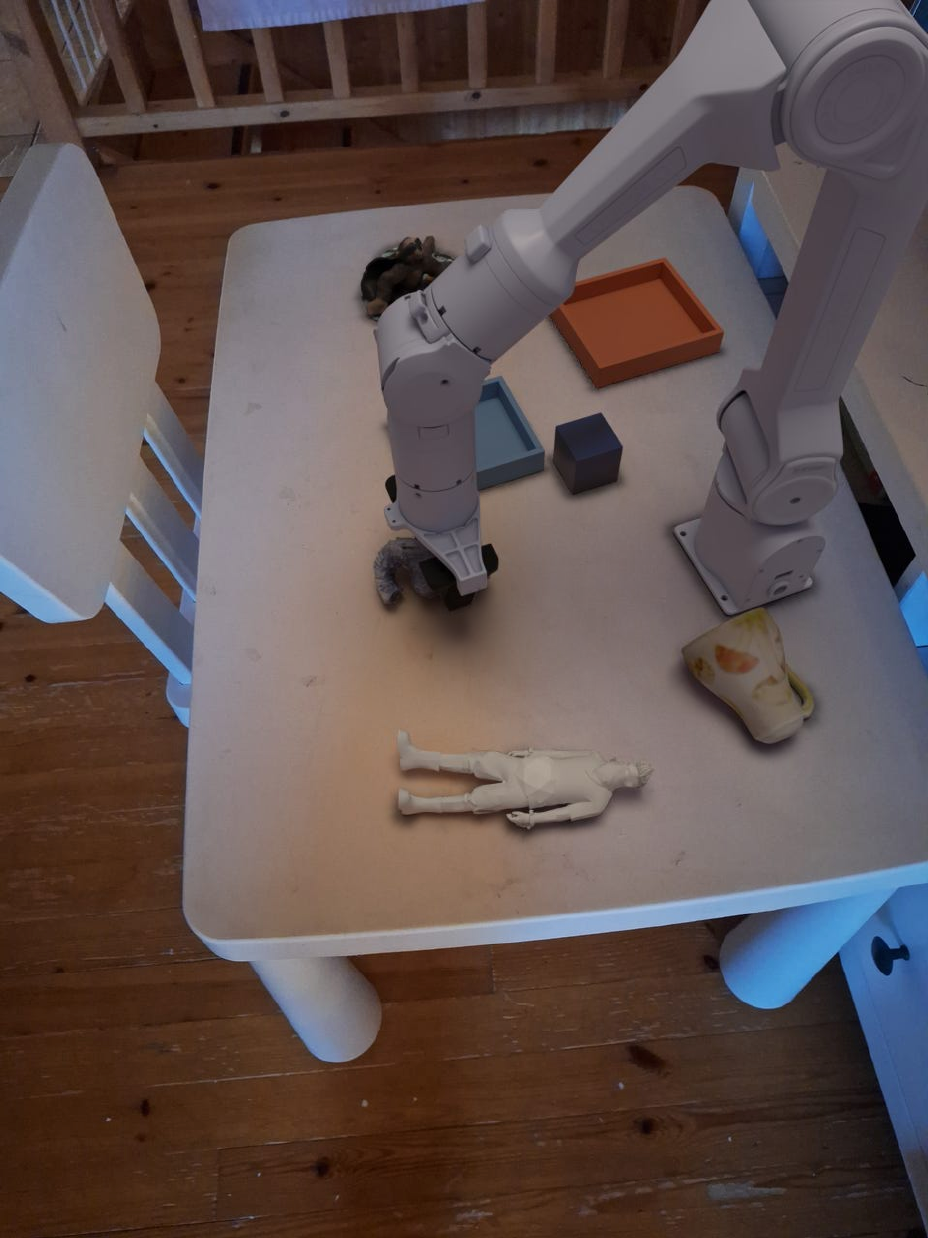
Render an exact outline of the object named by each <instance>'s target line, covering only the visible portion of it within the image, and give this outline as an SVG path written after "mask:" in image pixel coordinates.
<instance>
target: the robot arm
mask: <svg viewBox="0 0 928 1238" xmlns="http://www.w3.org/2000/svg"><path fill="white" fill-rule="evenodd" d="M784 143H786V144H787V146H788V147H789V149H790V150H791V151H792V152H793V154H795V155H796V156H797V157H798V158H799V159H801V160H802V161H805V162H807V163H809V164H811V165H813V166H815V167H819V168H822V169H826V170H825V173H824V176H823V179H822V181H821V185H820V187H819V191H818V194H817V197H816V200H815V203H814V206H813V209H812V212H811V216H810V219H809V221H808V224H807V227H806V230H805V234H804V237H803V239H802V242H801V246H800V248H799V252H798V255H797V258H796V261H795V263H794V267H793V269H792V273H791V276H790V278H789V281H788V285H787V288H786V291H785V294H784V296H783V300H782V303H781V306H780V309H779V311H778V315H777V318H776V320H775V324H774V327H773V330H772V333H771V336H770V339H769V342H768V345H767V347H766V351H765V354H764V357H763V359H762V361H758V362H756V363H753V364H750V365H747V366H745V367H743V368H742V370H741V372H740V373H741V374H740V377H739V379H738V382H737V384H736V385H735V386H734V388H733V389H732V391H730V392H729V394H727V396H726V397H725V398H724V399H723V400H722V402H721V403H720V404H719V407H718V409H717V412H716V419H715V420H716V426H717V428H718V430H719V431H720V433H721V434H722V436H723V438H724V441H723V442H724V443H723V446H722V448H721V451H722V455H721V457H720V459H719V460H718V463H717V466H716V469H715V473H714V476H713V478H712V482H711V485H710V489H709V491H708V495H707V498H706V501H705V503H704V504H705V505H704V508H703V511H702V514H701V517H698V518H696V519H692V520H689V521H686V522H683V523H680V524H677V525H675V527H674V529H673V533H674V535H675V538H676V539H677V540H678V541H679V543H680V545H681V546H682V548H683V549H684V551H685V553H686V554H687V556H688V558H689V559H690V560H691V562H692V563H693V565H694V567H695V569H696V570H697V572H698V573H699V575H700V576H701V578H702V579H703V581H704V583H705V584H706V586H707V587H708V589H709V591H710V592H711V593H712V595H713V598H715V600H716V601H717V603H718V605H719V606H720V608H721V610H723V613H725V614H726V615H728V616H734V615H736V614H739V613H742V612H745V611H748V610H752V609H753V608H756V607H759V606H761V605H765V604H768V603H770V602H773V601H776V600H779V599H782V598H784V597H787V596H790V595H794V594H795V593H799V592H801V591H804V590H808V589H810V588H811V587H812V585H813V584H814V583H813V579H812V577H811V574H812V572H813V570H814V568H815V567H816V565H817V563H818V561H819V559H820V557H821V555H822V553H823V552H824V549H825V547H826V539H825V537H824V534H823V533H822V531H821V530H820V527H819V526H818V524H817V521H816V519H815V515H817V514H818V513H820V512H821V511H823V510H824V509H825V508H826V507H827V506H828V505H829V504H830V503H831V502H832V501H833V499H834V498H835V497H836V496H837V493H838V491H839V489H840V485H841V484H840V481H841V480H840V477H839V473H838V466H839V464H840V462H841V459H842V457H843V455H844V443H843V433H842V424H841V413H840V397H841V396H842V393H843V391H844V388H845V387H846V384H847V382H848V380H849V378H850V376H851V373H852V370H853V369H854V366H855V364H856V362H857V359H858V358H859V355H860V353H861V350H862V349H863V346H864V344H865V341H866V339H867V337H868V335H869V333H870V330H871V328H872V326H873V324H874V321H875V319H876V317H877V314H878V312H879V311H880V307H881V306H882V303H883V301H884V299H885V297H886V295H887V292H888V290H889V288H890V286H891V283H892V281H893V279H894V276H895V274H896V272H897V269H898V267H899V265H900V264H901V261H902V258H903V257H904V254H905V252H906V249H907V248H908V245H909V243H910V241H911V238H912V236H913V234H914V232H915V229H916V227H917V225H918V222H919V221H920V218H921V215H922V213H923V212H924V209H925V208H926V204H927V202H928V33H927V32H926V31H925V29H923V27H921V26H920V24H919V23H918V21H917V20H916V19H915V17H914V16H913V15H912V14H911V13H910V11H909V10H908V8H906V6H905V4H903V2H902V1H901V0H709V2H708V4H707V6H706V7H705V8H704V11H703V12H702V14H701V16H700V18H699V19H698V21H697V22H696V24H695V26H694V27H693V30H692V32H690V35H689V36H688V38H687V40H686V41H685V43H684V45H683V47H682V48H681V50H680V52H679V53H678V55H677V56H676V58H675V59H674V60H673V62H671V64H669V66H668V67H667V68H666V69H665V70H664V71H663V72H662V74H661V75H660V76H659V77H658V78H657V79H656V80H655V81H654V82H653V83H652V84H651V86H650V87H649V88H648V89H646V91H645V92H644V93H643V94H642V95H641V96H640V97H639V98H638V100H637V101H636V102H635V103H634V104H633V105H632V106H631V107H630V109H629V110H628V111H626V113H625V114H624V115H623V116H622V117H621V118H620V119H619V120H618V121H617V123H615V125H614V126H613V127H612V128H611V129H610V131H608V132H607V133H606V135H605V136H604V137H603V138H602V139H601V140H600V141H599V142H598V143H597V145H595V146H594V148H593V149H592V150H591V151H590V152H589V153H588V154H587V156H585V158H584V159H583V160H581V162H580V163H579V164H578V165H577V166H576V167H575V168H574V170H573V171H572V172H570V174H569V175H568V176H567V177H566V178H565V179H564V181H562V183H561V184H559V186H558V187H557V188H556V189H555V190H554V191H553V192H552V193H551V194H550V196H549V197H548V198H547V199H546V200H545V201H544V202H543V203H542V204H541V206H540V207H537V208H508V209H504V211H503V212H501V214H500V215H499V216H498V217H497V218H496V219H495V220H494V221H492V223H490V225H489V226H488V227H487V228H486V227H485V226H483V225H482V224H477V226H475V228H474V229H473V230H472V231H470V233H468V235H467V236H465V237H464V245H465V249H464V250H463V251H462V252H461V254H459V255H458V256H457V257H456V258H455V260H454V261H453V262H452V263H451V264H450V265H449V266H448V267H447V268H446V269H445V270H444V271H443V272H442V273H441V274H440V275H439V276H438V277H437V278H436V279H435V280H434V281H433V282H432V283H431V284H430V285H429V286H428V287H427V288H426V289H425V290H424V291H421V290H418V291H417V292H414V293H410V294H407V295H404V296H402V297H400V298H399V299H397V300H396V301H395V302H394V303H392V304H391V305H390V306H389V307H388V308H387V309H386V310H385V311H384V312H383V313H382V315H381V317H380V318H379V320H378V321H377V323H376V327H374V328H373V337H374V340H375V343H376V347H377V359H378V368H379V380H380V390H381V394H382V397H383V402H384V404H385V407H386V409H387V410H386V423H387V429H388V436H389V437H388V438H389V442H390V452H391V457H392V464H393V471H394V474H392V475H390V476H388V477H387V478H386V480H385V481H384V488H385V490H386V493H387V496H388V497H389V499H390V502H391V503H389V504H387V505H385V506H384V508H383V515H384V519H385V521H386V523H387V526H388V528H389V529H390V530H391V531H394V532H399V531H402V530H406V531H408V532H409V533H410V534H412V536H413V538H414V539H418V540H419V541H420V542H421V543H422V544H423V545H424V546H425V547H426V548H427V549H429V550H430V551H431V552H432V553H433V554H434V555H435V556H436V557H434V558H431V559H428V560H425V561H421V562H419V567H420V569H421V571H422V574H423V576H424V578H425V581H426V583H427V584H428V586H429V587H430V588H431V589H432V591H435V592H438V593H439V596H440V599H441V601H442V603H443V606H444V608H445V610H447V611H448V612H453V611H455V610H459V609H462V608H464V607H468V606H471V605H472V603H473V601H474V600H475V597H476V594H477V592H478V591H481V590H484V589H487V587H488V581H487V577H488V576H490V575H491V576H492V575H493V574H494V573H496V572H497V571H498V570H499V564H500V562H499V559H500V558H499V556H498V554H497V552H496V550H495V548H494V546H493V544H492V543H487V544H484V545H482V525H481V522H482V521H481V497H480V492H479V490H477V475H476V441H475V410H474V408H475V407H476V405H477V404H478V402H479V400H480V397H481V393H482V384H483V381H484V380H486V378H488V377H489V376H490V375H491V370H492V365H493V364H494V363H496V362H497V361H498V360H499V359H500V358H501V357H503V356H504V355H505V354H506V353H507V352H508V351H509V350H511V349H512V348H513V347H514V346H515V345H517V344H518V343H519V341H521V340H522V339H524V337H526V335H528V334H529V333H530V332H531V331H533V330H534V329H535V328H536V327H537V326H538V325H539V324H541V323H542V322H543V321H544V320H545V319H546V318H547V317H548V316H550V314H551V313H552V312H553V311H554V310H556V309H557V308H558V307H559V306H560V305H562V304H563V303H564V302H565V301H566V300H567V299H568V298H570V297H571V296H572V294H573V292H574V288H575V282H577V273H578V267H579V263H580V261H581V260H582V259H584V257H585V256H587V255H588V254H590V253H591V252H592V251H593V250H595V249H596V248H598V247H599V246H600V245H601V244H602V243H604V242H605V241H606V240H608V239H609V238H610V237H611V236H613V235H614V234H616V233H617V232H618V231H619V230H621V229H622V228H624V226H626V225H628V224H629V223H630V222H631V221H633V220H634V219H635V218H636V217H638V216H639V215H640V214H641V213H643V212H644V211H645V210H647V209H648V208H649V207H651V206H652V205H653V204H654V203H656V202H657V201H659V199H661V198H662V197H664V196H665V195H666V194H668V193H669V192H670V191H671V190H673V189H674V188H675V187H676V186H678V185H679V184H680V183H682V182H683V181H685V180H686V179H688V177H690V176H691V175H692V174H693V173H694V172H697V170H699V169H700V168H701V167H702V166H705V165H707V164H718V165H724V166H731V167H736V168H742V169H747V170H755V171H760V172H761V171H762V172H766V173H767V172H768V173H769V172H771V173H773V172H776V171H779V170H781V164H780V160H779V157H778V154H777V149H776V147H777V146H779V145H782V144H784ZM491 576H490V577H491ZM724 599H725V600H724Z"/></svg>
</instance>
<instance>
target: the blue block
mask: <svg viewBox="0 0 928 1238" xmlns="http://www.w3.org/2000/svg"><path fill="white" fill-rule="evenodd" d="M554 428H555V429H554V441H553V454H552V461H553V463H554V465H555V467H556V468H557V470H558V472H559V473H560V475H561V477H562V478H563V481H564V482H565V484H566V486H567V487H568V489H569V491H570V493H571V494H572V495H575V494H578V493H582V492H585V491H588V490H591V489H594V488H598V487H600V486H604V485H606V484H610V483H614V482H615V481H618V478H619V472H620V467H621V461H622V457H623V450H624V445H623V444H622V443H621V441H620V439H619V437H618V436H617V435H616V433H615V431H614V429H612V426H611V425H610V424H609V422H608V421H607V419H606V417H605V416H604V414H603V412H601V411H599V412H597V413H594V414H590V415H587V416H585V417H581V418H578V419H575V420H571V421H568V422H564V423H561V424H558V425H555V427H554Z"/></svg>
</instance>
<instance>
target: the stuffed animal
mask: <svg viewBox="0 0 928 1238" xmlns="http://www.w3.org/2000/svg"><path fill="white" fill-rule="evenodd" d="M435 243H436V240H435V237H434V235H426V237H425V238H424V241H423V242H422V241H421V239H420V238H419V237H417V236H415V237H412V236H406V237H405V238H404V239H402V241H401V242H399V244H398V246H397V247H392V248H390V249H387V250H386V251H385V252H384V253H382V254H381V256H377V257H375V258H373V259H372V260H371V261H369V262H368V264H367V265H366V266H365V271H364V272H363V274H362V278H361V281H360V291H361V294H362V296H361V299H362V301H363V302H364V305H365V310H366V314H367V316H368V317H369V318H370V319H372V320H373V321H376V322H378V321H379V318H380V317H381V315H382V313H383V312H384V311H385V310H386V309H387V308H388V307H389V306H390V305H391V304H392V303H394V302H395V301H396V300H397V299H399V298H400V297H402V296H404V295H407V294H410V293H414V292H417V291H418V290H421V291H424V290H425V289H426V288H427V287H428V286H429V285H430V284H431V283H432V282H433V281H434V280H435V279H436V278H437V277H438V276H439V275H440V274H441V273H442V272H443V271H444V270H445V269H446V268H447V267H448V266H449V265H450V264H451V263H452V262H453V261H454V260H455V259H456V258H455V259H454V258H452V256H450V255H448V254H445V253H440V252H439V251H438V250H436V249H435Z"/></svg>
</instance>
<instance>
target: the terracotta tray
mask: <svg viewBox="0 0 928 1238" xmlns="http://www.w3.org/2000/svg"><path fill="white" fill-rule="evenodd" d="M549 316H550V317H551V319H552V321H553V322H554V324H555V326H556V327H557V328H558V330H559V331H560V333H561V335H562V336H563V338H564V339H565V341H566V342H567V344H568V345H569V347H570V349H571V350H572V352H573V353H574V355H575V356H576V358H577V359H578V361H579V363H580V364H581V365H582V368H583V369H584V370H585V372H586V373H587V375H588V376H589V378H590V379H591V381H592V383H593V384H594V386H595V387H596V388H597V389H599V388H602V387H603V388H604V387H606V386H610V385H612V384H617V383H620V382H623V381H626V380H630V379H632V378H636V377H639V376H643V375H646V374H649V373H653V372H656V371H659V370H663V369H666V368H670V367H673V366H676V365H679V364H682V363H686V362H690V361H693V360H697V359H699V358H703V357H706V356H710V355H713V354H716V353H719V352H720V350H721V346H722V342H723V338H724V335H725V330H724V329H723V328H722V327H721V326H720V324H719V323H718V322H717V320H716V319H715V318H714V316H713V315H712V314H711V313H710V311H708V309H707V308H706V307H705V305H704V304H703V303H702V301H701V300H700V299H699V298H698V297H697V295H696V294H695V292H693V290H692V289H691V288H690V287H689V285H688V284H687V283H686V282H685V280H684V279H683V278H682V277H681V275H680V274H679V272H678V271H677V270H676V268H675V267H674V266H673V265H672V264H671V262H670V261H669V260H668V258H667V257H665V256H664V257H661V258H658V259H654V260H651V261H647V262H644V263H640V264H635V265H632V266H627V267H625V268H621V269H618V270H615V271H610V272H607V273H603V274H600V275H597V276H593V277H589V278H585V279H581V280H578V281H575V288H574V292H573V294H572V296H571V297H570V298H568V299H567V300H566V301H565V302H564V303H563V304H562V305H560V306H559V307H558V308H557V309H556V310H554V311H553V312H552V313H551V314H550V315H549Z"/></svg>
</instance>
